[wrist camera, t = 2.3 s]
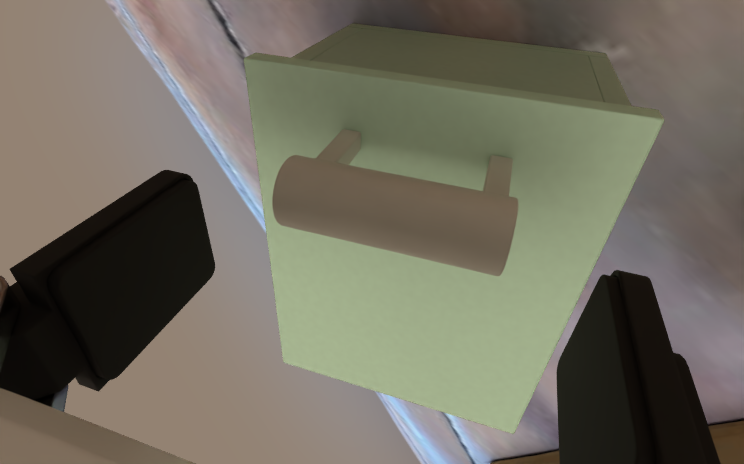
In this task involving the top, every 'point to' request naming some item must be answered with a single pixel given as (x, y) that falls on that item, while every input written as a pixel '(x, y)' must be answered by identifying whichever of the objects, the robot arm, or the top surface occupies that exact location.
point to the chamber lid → (434, 225)
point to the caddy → (732, 440)
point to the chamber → (473, 61)
